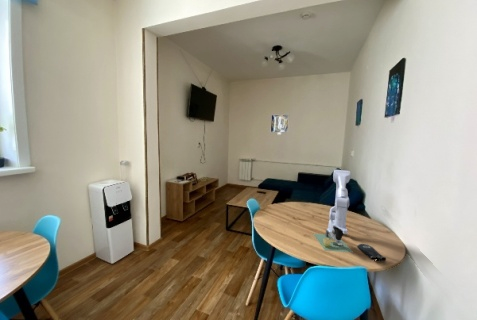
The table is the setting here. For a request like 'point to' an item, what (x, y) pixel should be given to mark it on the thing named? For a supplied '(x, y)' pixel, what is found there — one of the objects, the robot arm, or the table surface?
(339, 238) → the robot arm
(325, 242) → the tan stepped block
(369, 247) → the electronic device
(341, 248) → the board
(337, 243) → the silver long flat bar
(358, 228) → the table surface
